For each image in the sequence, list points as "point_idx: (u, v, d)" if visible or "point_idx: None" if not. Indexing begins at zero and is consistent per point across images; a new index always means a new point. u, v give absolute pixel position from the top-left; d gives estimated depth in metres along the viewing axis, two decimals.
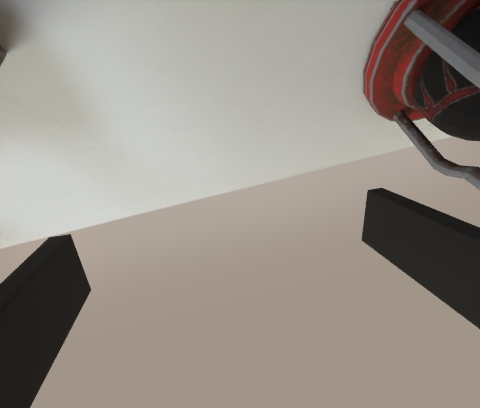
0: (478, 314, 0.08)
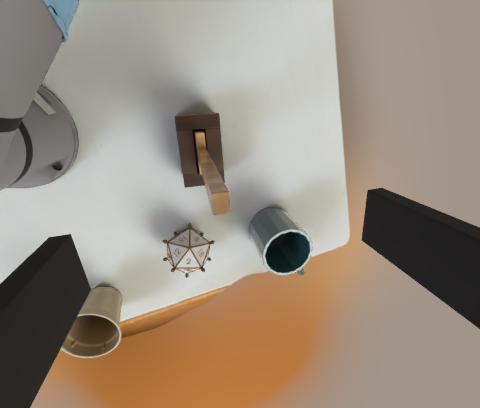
0: (478, 314, 0.08)
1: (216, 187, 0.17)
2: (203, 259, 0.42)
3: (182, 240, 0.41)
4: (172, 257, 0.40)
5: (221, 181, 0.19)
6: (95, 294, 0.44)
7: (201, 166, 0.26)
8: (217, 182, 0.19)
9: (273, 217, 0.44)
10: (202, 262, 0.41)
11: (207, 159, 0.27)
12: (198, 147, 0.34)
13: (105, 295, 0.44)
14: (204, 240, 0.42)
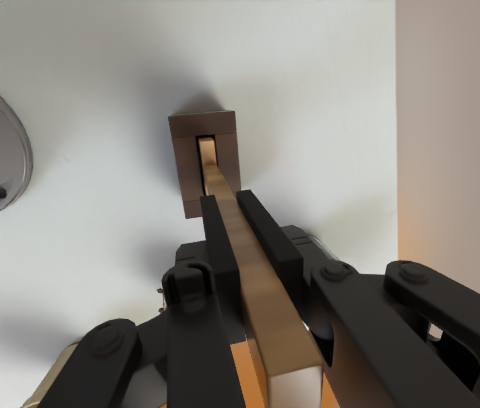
0: None
1: (275, 328, 0.06)
2: None
3: None
4: None
5: (276, 283, 0.07)
6: (68, 357, 0.33)
7: None
8: (267, 286, 0.07)
9: None
10: None
11: (223, 191, 0.15)
12: (205, 163, 0.22)
13: None
14: None
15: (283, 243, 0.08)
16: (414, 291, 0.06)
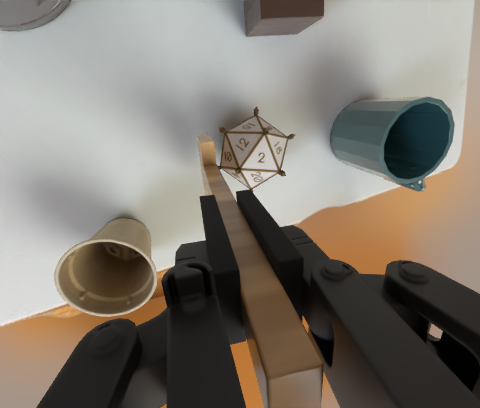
0: None
1: (274, 330, 0.06)
2: (281, 159, 0.27)
3: (249, 126, 0.26)
4: (235, 153, 0.26)
5: (276, 284, 0.07)
6: (113, 224, 0.29)
7: None
8: (267, 288, 0.07)
9: (381, 100, 0.29)
10: (280, 163, 0.26)
11: (223, 191, 0.15)
12: (205, 163, 0.22)
13: (129, 226, 0.29)
14: (279, 132, 0.27)
15: (283, 243, 0.08)
16: (414, 291, 0.06)
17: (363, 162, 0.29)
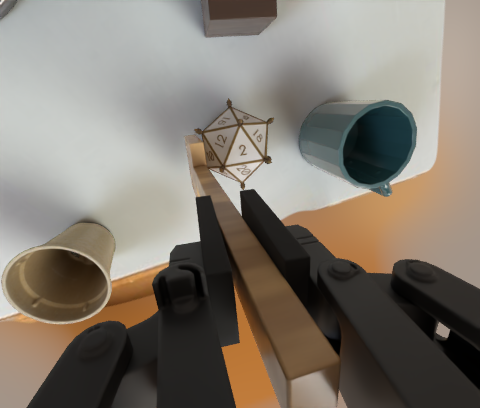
0: None
1: (288, 330, 0.06)
2: (264, 146, 0.26)
3: (224, 121, 0.25)
4: (215, 151, 0.25)
5: (284, 284, 0.07)
6: (71, 229, 0.29)
7: None
8: (275, 288, 0.07)
9: (345, 102, 0.28)
10: (264, 151, 0.26)
11: (217, 193, 0.15)
12: (195, 165, 0.22)
13: (88, 231, 0.29)
14: (257, 119, 0.26)
15: (289, 242, 0.08)
16: (421, 290, 0.06)
17: (327, 166, 0.28)
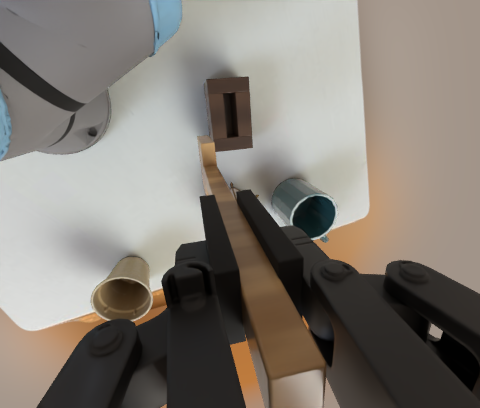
0: None
1: (276, 330, 0.06)
2: None
3: None
4: None
5: (277, 284, 0.07)
6: (124, 262, 0.45)
7: None
8: (268, 288, 0.07)
9: (297, 185, 0.45)
10: None
11: (223, 192, 0.15)
12: (205, 165, 0.22)
13: (135, 264, 0.45)
14: None
15: (283, 243, 0.08)
16: (414, 291, 0.06)
17: None
